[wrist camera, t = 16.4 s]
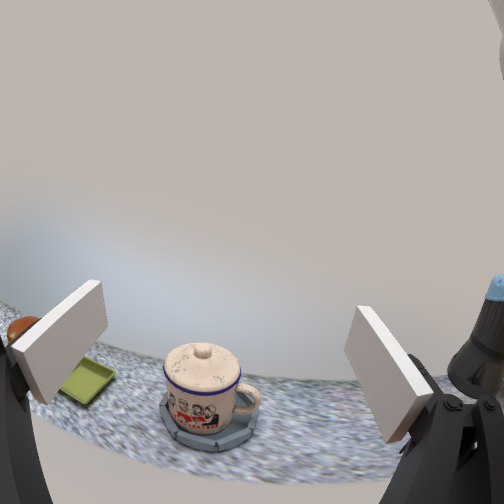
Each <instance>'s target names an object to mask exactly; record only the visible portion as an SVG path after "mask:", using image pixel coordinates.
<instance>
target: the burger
mask: <svg viewBox="0 0 504 504" xmlns="http://www.w3.org/2000/svg"><path fill="white" fill-rule="evenodd" d="M38 319H39V318H36V317H32V316H28V317H24V318H21V319H18V320H16V321H14V322H12V323H11V324H10V326H9V327H8V329H7V337H8V344H9V343H10V342H11V341H13V340H14V339H15V338H16V337H17V336H18V335H19V334H20V333H22V332H23V331H24V330H25V329H27V327H28V326H29V325H30V324H32V323H33V322H34V321H36V320H38Z"/></svg>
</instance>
